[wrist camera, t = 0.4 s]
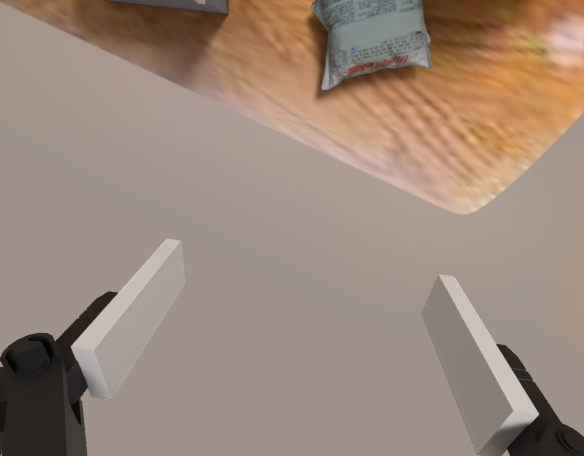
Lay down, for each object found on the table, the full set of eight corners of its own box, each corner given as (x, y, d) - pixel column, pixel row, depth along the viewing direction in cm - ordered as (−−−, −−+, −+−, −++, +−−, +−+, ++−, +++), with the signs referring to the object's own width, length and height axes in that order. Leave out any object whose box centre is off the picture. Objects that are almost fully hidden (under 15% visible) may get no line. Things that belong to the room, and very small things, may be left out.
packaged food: (424, 69, 34) (439, 67, 29) (321, 90, 36) (320, 91, 31) (425, -27, 30) (442, -45, 26) (309, 2, 32) (307, -10, 28)
